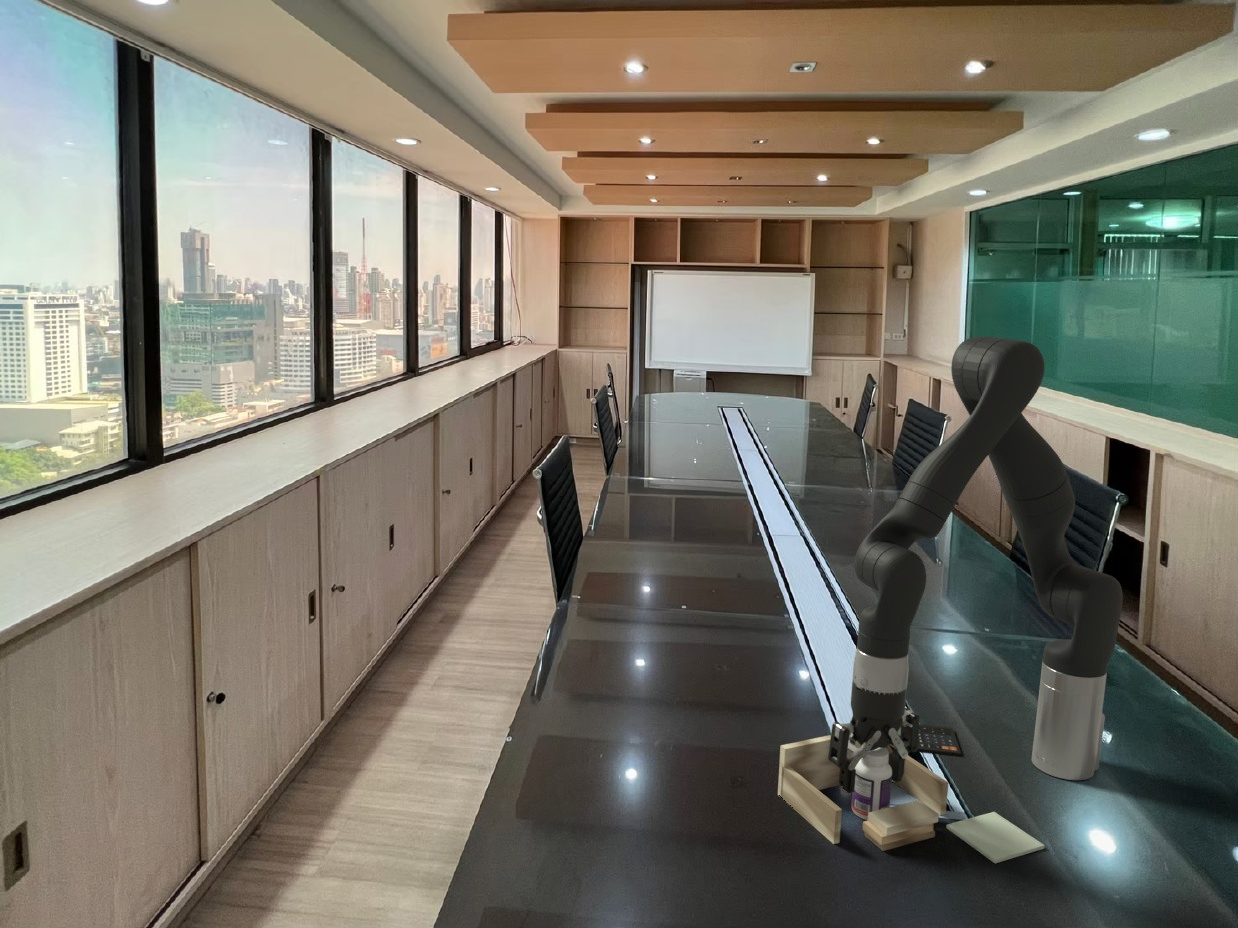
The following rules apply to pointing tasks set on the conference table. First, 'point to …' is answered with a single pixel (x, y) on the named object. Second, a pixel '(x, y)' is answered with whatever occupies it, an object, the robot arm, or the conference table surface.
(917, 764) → the enclosure
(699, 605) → the conference table surface
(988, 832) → the sage mat
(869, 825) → the offcut stack
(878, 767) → the pill bottle
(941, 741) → the calculator
